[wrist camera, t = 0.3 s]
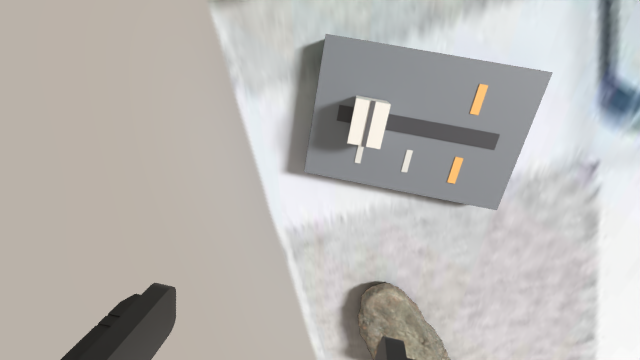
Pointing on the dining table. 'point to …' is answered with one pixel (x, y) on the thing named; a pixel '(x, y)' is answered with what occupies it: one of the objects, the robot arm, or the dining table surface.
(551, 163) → the dining table surface
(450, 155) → the fader console
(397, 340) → the robot arm
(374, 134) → the fader
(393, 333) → the long grey stone
